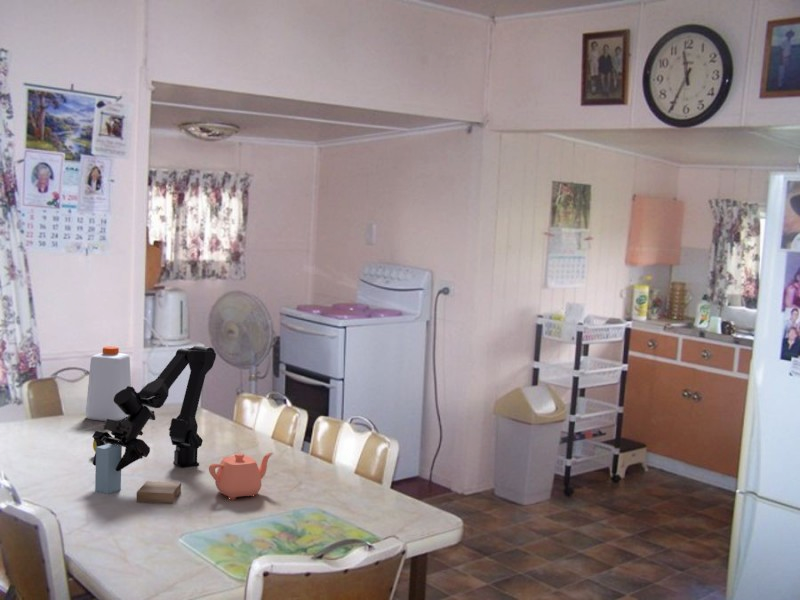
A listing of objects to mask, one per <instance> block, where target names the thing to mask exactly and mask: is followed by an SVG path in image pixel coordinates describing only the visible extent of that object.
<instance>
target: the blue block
mask: <svg viewBox="0 0 800 600" xmlns="http://www.w3.org/2000/svg"><path fill="white" fill-rule="evenodd" d="M122 450H123V447H122V446H118V445H114V444H106V445H102V446H98V447H96V452H95V453H96V466H95V476H94V477H95V478H94V479H95V481H94V482H95V483H94V491H95V492H99V493H102V494H105V495H108V494H112V493H115V492H118V491H120V490H121V489H122V486H121V485H122V469H121V470H120V471H116V470H115V469H116V467H117V465H118V463H119V462H120V460H121V458H122V457H123V455H122V452H123V451H122Z"/></svg>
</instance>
